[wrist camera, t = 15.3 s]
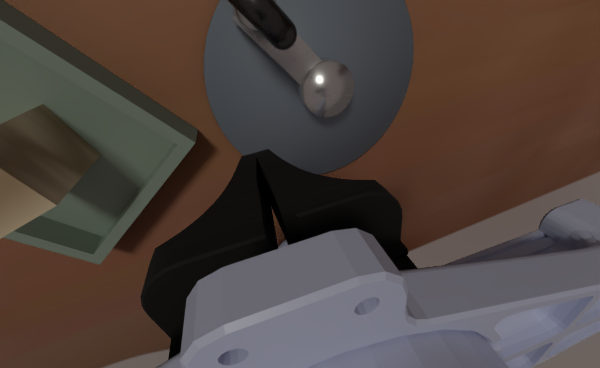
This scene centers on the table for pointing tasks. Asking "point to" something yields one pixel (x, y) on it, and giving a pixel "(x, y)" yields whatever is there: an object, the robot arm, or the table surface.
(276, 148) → the crank base
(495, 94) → the table surface
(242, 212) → the robot arm
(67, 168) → the wooden block
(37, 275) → the table surface
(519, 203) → the table surface
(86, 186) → the tray
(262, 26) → the crank
